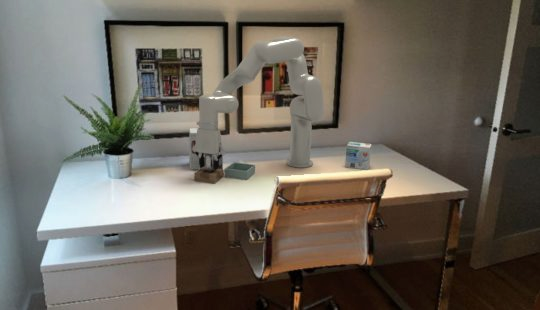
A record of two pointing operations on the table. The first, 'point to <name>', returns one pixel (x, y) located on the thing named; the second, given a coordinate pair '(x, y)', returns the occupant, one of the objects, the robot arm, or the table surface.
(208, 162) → the pin
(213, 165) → the grey cylinder
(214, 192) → the table surface
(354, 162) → the light bulb box
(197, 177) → the brown square open box
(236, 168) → the tray
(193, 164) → the supplement box
